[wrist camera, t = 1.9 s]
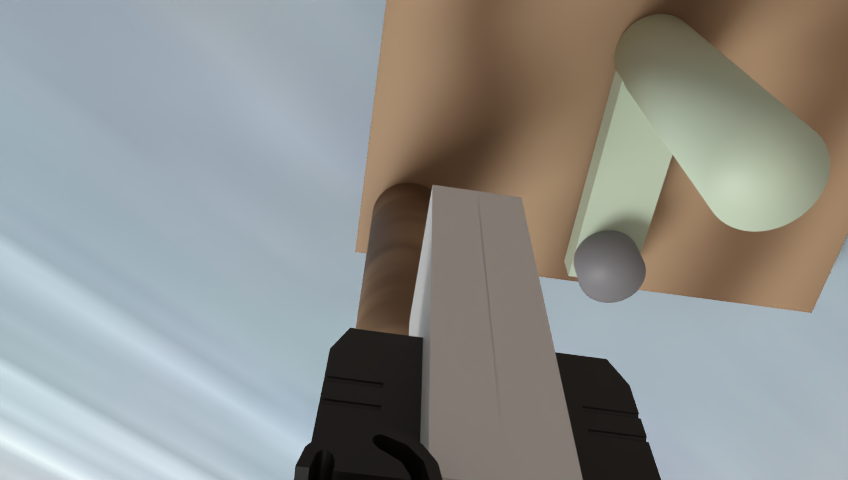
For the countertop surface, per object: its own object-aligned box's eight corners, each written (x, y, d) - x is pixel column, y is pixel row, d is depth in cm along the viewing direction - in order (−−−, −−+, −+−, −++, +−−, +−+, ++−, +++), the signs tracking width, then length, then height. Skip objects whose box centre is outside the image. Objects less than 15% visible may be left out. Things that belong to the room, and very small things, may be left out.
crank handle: (627, 275, 34) (706, 464, 24) (557, 266, 33) (609, 452, 24) (708, 20, 29) (850, 129, 19) (626, 8, 28) (728, 110, 19)
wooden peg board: (360, 224, 36) (324, 432, 24) (446, -467, 24) (461, -729, 12) (788, 282, 37) (958, 507, 25) (1060, -348, 26) (1606, -484, 14)
